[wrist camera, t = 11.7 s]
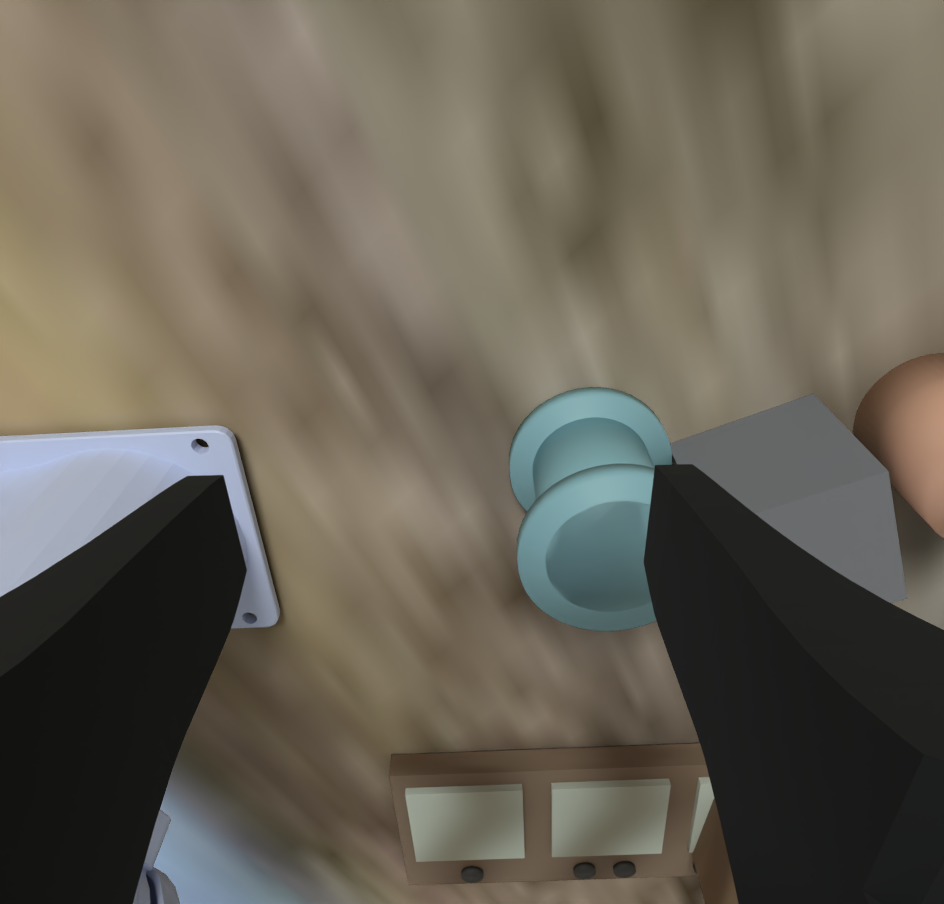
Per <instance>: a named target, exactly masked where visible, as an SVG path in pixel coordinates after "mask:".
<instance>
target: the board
mask: <svg viewBox="0 0 944 904" xmlns="http://www.w3.org/2000/svg"><path fill="white" fill-rule="evenodd" d="M389 779H390V785H391V790H392V796H393V801H394V807H395V812H396V818H397V823H398V829H399V834H400V840H401V845H402V851H403V856H404V862H405V867H406V873H407V878H408V884H409V885H433V884H464V883H494V882H524V881H555V880H585V879H616V878H646V877H676V876H698V875H697V871H696V867H695V864H694V860H693V856H692V853H693V851H694V848H695V846H696V843H697V841H698V838H699V836H700V833H701V830H702V828H703V825H704V823H705V820H706V818H707V815H708V812H709V810H710V807H711V805H712V802H713V800H714V799H715V798H714V794H713V790H712V786H711V782H710V778H709V774H708V770H707V766H706V762H705V758H704V755H703V751H702V748H701V745H700V743H693V744H667V745H640V746H614V747H588V748H561V749H535V750H508V751H482V752H456V753H429V754H403V755H391V763H390V772H389Z"/></svg>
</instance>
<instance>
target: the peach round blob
mask: <svg viewBox="0 0 944 904" xmlns="http://www.w3.org/2000/svg"><path fill="white" fill-rule="evenodd" d="M854 436H855V437H856V438H857V439H858V440H859V441H860V442H861V443H862V444H863V445H864V446H865V447H866V448H867V449H868V450H869V451H870V453H871V454H872V455H873V456H874V457H875V458H876V459H877V460H878V461H879V462H880V463H881V464H882V465H883V466H884V467H885V468H886V469H887V470H888V471H889V478H890V484H891V485H892V486H893V487H894V488H895V490H896V491H897V492H898V493H899V494H900V495H901V496H902V497H903V498H904V499H905V500H906V501H907V502H908V503H909V504H910V505H911V506H912V507H913V509H914V510H915V511H916V512H917V513H918V514H919V515H920V516H921V517H922V518H923V519H924V520H925V521H926V522H927V523H928V524H929V525H930V526H931V528H932V529H933V530H934V531H935V532H936V533H938V534H939V535H940V536H941V537H943V538H944V353H939V354H930V355H925V356H921V357H918V358H915V359H912V360H909V361H907V362H905V363H903V364H901V365H899V366H897V367H896V368H894V369H892V370H891V371H889V372H888V373H887V374H885V375H884V376H883V377H882V378H881V379H879V380H878V381H877V382H876V383H875V384H874V385H873V386H872V387H871V389H870V390H869V391H868V393H867V394H866V395H865V397H864V398H863V400H862V402H861V404H860V406H859V408H858V410H857V413H856V416H855V421H854Z"/></svg>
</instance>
